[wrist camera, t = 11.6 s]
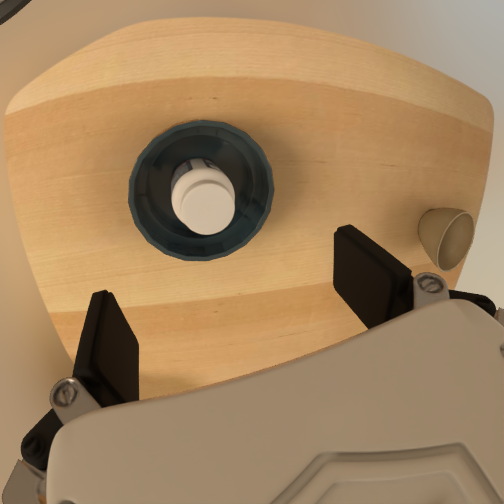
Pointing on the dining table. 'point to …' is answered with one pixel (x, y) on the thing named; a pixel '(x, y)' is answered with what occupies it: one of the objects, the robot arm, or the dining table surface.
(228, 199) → the pill bottle
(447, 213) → the flower pot
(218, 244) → the bowl
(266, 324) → the dining table surface
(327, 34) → the dining table surface
